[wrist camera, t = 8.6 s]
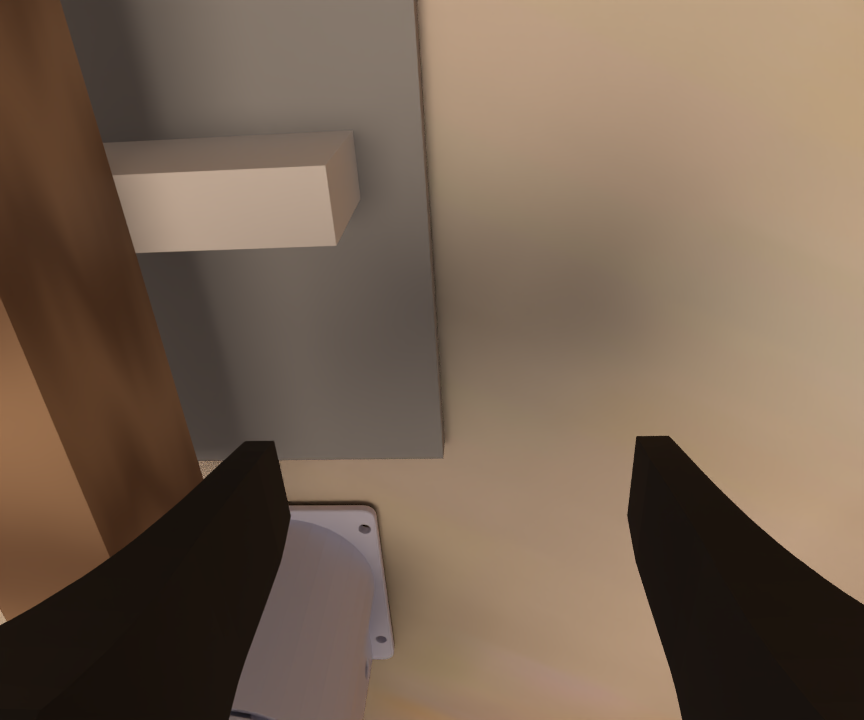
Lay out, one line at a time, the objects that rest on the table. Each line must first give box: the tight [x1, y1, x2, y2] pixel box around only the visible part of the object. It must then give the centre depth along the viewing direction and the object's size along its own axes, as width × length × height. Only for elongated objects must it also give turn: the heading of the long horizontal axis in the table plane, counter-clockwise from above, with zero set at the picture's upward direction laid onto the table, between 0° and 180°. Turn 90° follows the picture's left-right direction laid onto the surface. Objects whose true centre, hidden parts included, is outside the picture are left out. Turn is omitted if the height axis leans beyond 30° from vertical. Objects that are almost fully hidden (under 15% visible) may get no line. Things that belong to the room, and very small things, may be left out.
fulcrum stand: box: [60, 0, 445, 461], centre depth 19 cm, size 22×18×5 cm
